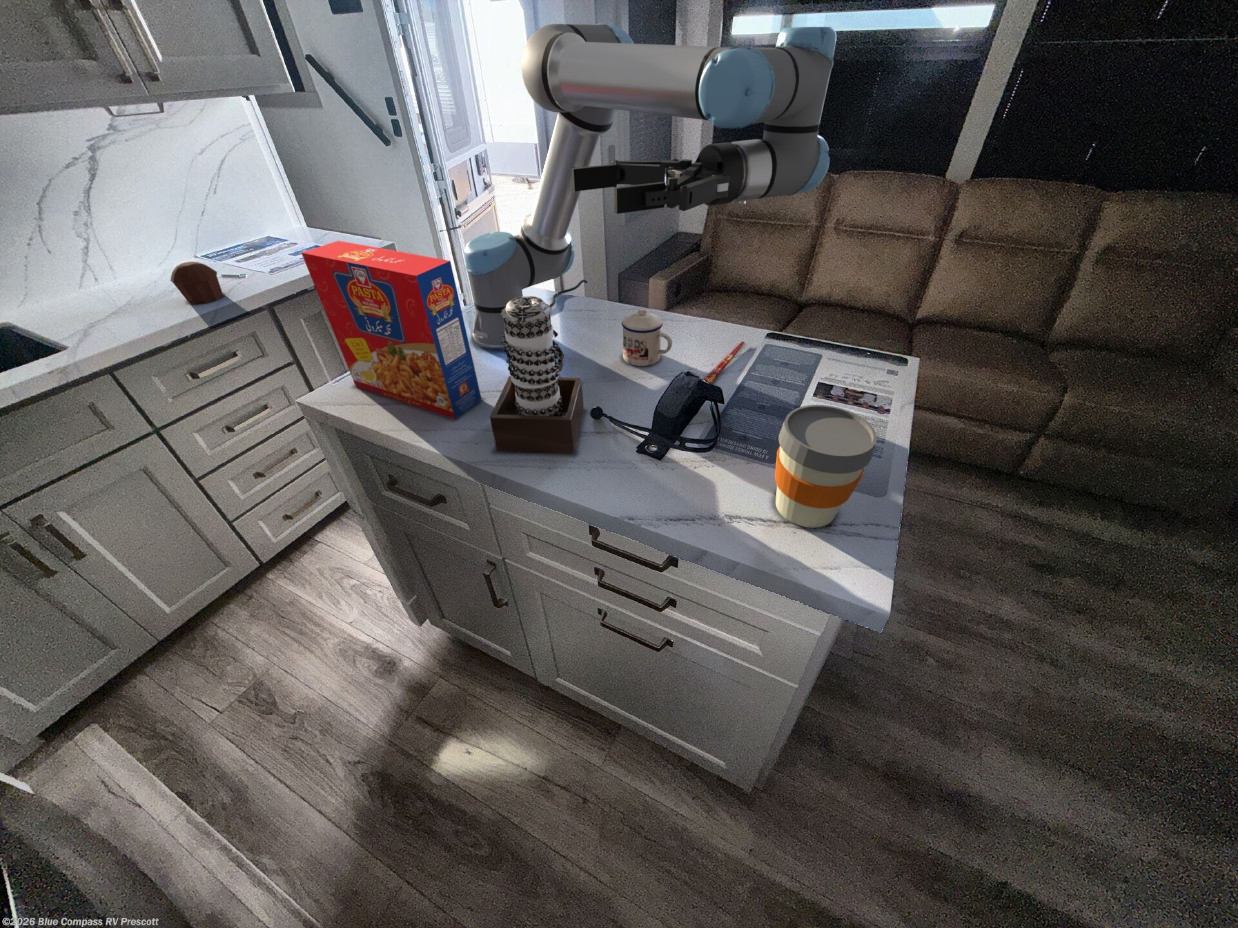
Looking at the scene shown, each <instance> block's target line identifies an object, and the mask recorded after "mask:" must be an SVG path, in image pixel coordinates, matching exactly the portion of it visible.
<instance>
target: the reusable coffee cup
mask: <svg viewBox="0 0 1238 928" xmlns="http://www.w3.org/2000/svg"><path fill="white" fill-rule="evenodd" d="M778 443H779V447H778V448H777V451H776V458H775V470H774V471H775V473H774V481H775V484H776V494H775V507H776V509H777V511H778V512H779V514H780V515H781V516H782V517H783V518H784V519H786V520H787V521H789V522H790V523H792V524H795V525H797V526H800V527H804V528H812V529H813V528H815V529H816V528H821V527H825V526H827V525H829V524H831V522H833V520H834V519H835V517H836V515H837V513H838V512H839V510H840V508H841V507H842V505H844V504H846V503H847V502H848V501H849V500H850V499H851V496H852V495H853V493H854V491H855V490H856V488H857V486H858V485H859V483H860V481H861V480H862V477H863V476H864V473H865V468H866V467H867V466H869V464H870V463H871V462H872V459H873V455H874V453H875V452H874V451H875V446H876V443H877V432H876V430H875V428H874V427H873V426H872V424H871V423H870V422H868V420H867V419H865V418H864V417H862V416H860V415H859V414H857V413H854V412H852V411H850V410H848V409H845V408H841V407H838V406H833V405H827V404H807V405H803V406H799V407H797V408H794V409H793V410H791V411H789V413H787V415H786V416H785V418H784V420H783V423H782V426H781V428H780V432H779V434H778Z"/></svg>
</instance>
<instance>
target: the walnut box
mask: <svg viewBox="0 0 1238 928" xmlns="http://www.w3.org/2000/svg"><path fill="white" fill-rule="evenodd" d="M557 382H558V386H559V392H560V395H561V397H562V403H561V404H563V407H562V412H563V413H564V414H566V415H565V416H564V415H563V416H529V415H518V413H517V412H516V409H517V408H516V405H515V402H516V396H515V391H516V390H515V384H514V383H513V382H512V381H511V375H509V376H508V377H507V380H506V382H505V383H504V386H503V388H502V390H501V393H500V395H499V397H498V399H497V400H496V403H495V405H494V408H493V410H492V411H491V414H490V416H489V420H490V426H491V429H492V435H493V441H494V445H495V448H496V452H497V453H517V454H544V455H545V454H549V455H575V452H576V448H577V443H578V438H579V433H580V430H581V425H582V421H583V418H584V417H583V416H584V412H585V408H584V407H585V406H584V393H583V381H582V377H564V376H563V377H561V376H559V378H558V379H557Z"/></svg>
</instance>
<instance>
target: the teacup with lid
mask: <svg viewBox="0 0 1238 928" xmlns="http://www.w3.org/2000/svg"><path fill="white" fill-rule="evenodd" d="M663 325H664V322H663V319H662V318H661V317H660V316H659V315H657V314H655V313H652V312H648V310H647V308H645V307H639V308H638V309H637V311H636V312H633V313H629V314H627V315H626V316H624V317H623V319H622V321H621V326H622V358H623V360H624V361H625V362H626V363H627V364H630V365H633V366H637V367H647V366H651V365H654V364H656V363H657V362H658V361H659V360H660V358H661V355H665V354H667V353H669V352H670V350H671V349H672V347H673V339H672V337H671V336H670V335H669V334H668V333H666V332H664V331H662V327H663ZM662 338H663V339H665V340H666V342H667V346H666V348H665V349H661V347H662V346H661V345H662Z"/></svg>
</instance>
